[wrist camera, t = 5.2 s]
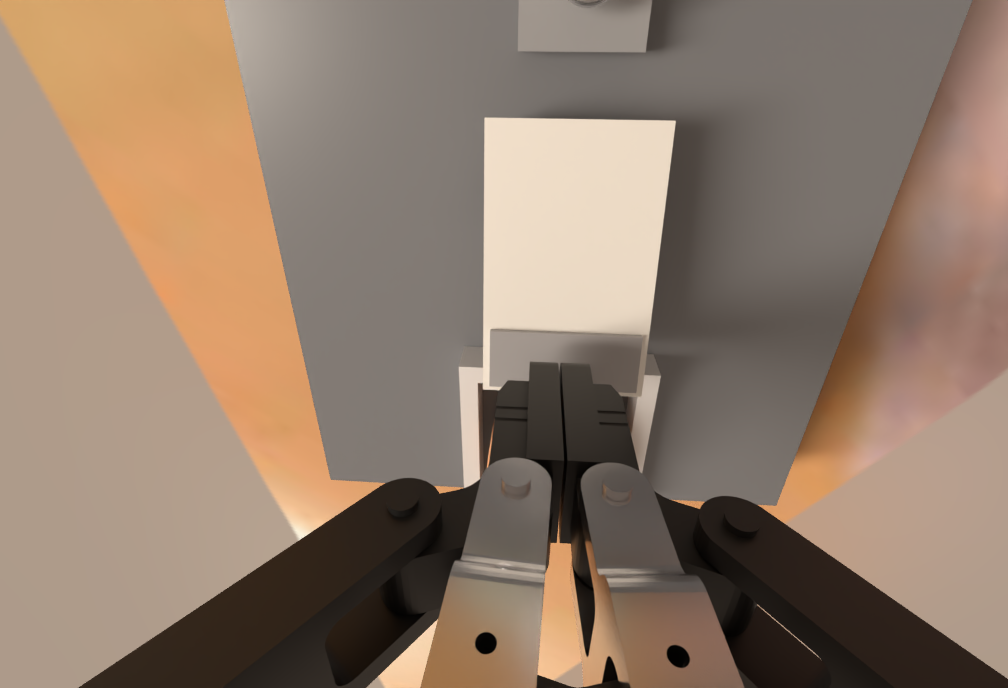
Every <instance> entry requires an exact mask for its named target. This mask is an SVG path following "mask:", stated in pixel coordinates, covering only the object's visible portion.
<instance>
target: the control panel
mask: <svg viewBox="0 0 1008 688" xmlns="http://www.w3.org/2000/svg"><path fill="white" fill-rule="evenodd" d="M224 1H225V5H226V10H227V14H228V19H229V23H230V28H231V32H232V37H233V41H234V46H235V50H236V55H237V59H238V64H239V68H240V73H241V78H242V82H243V87H244V91H245V96H246V100H247V105H248V109H249V114H250V118H251V123H252V127H253V132H254V136H255V141H256V145H257V150H258V154H259V159H260V163H261V168H262V172H263V177H264V181H265V186H266V190H267V195H268V199H269V204H270V208H271V213H272V217H273V222H274V226H275V231H276V235H277V240H278V244H279V249H280V253H281V258H282V262H283V267H284V271H285V276H286V280H287V285H288V289H289V294H290V298H291V303H292V307H293V312H294V316H295V321H296V325H297V330H298V334H299V339H300V343H301V348H302V352H303V357H304V361H305V366H306V370H307V375H308V379H309V384H310V388H311V393H312V397H313V402H314V406H315V411H316V415H317V420H318V424H319V429H320V433H321V438H322V442H323V447H324V451H325V456H326V460H327V465H328V469H329V474H330V478H331V480H346V481H363V482H380V483H387V482H390V481H393V480H396V479H401V478H417V479H421V480H424V481H427V482H428V483H430V484H432V485H433V486H448V487H464V488H466V487H468V486H470V485H472V484H474V483H475V482H477V481H478V480H479V479H480V478H481V477H482V474H483V472H484V471H485V470H486V469H487V462H488V455H489V448H490V441H491V433H492V426H493V422H494V419H495V412H496V404H497V396H498V391H499V390H483V284H484V118H545V119H605V120H666V121H676V124H675V132H674V140H673V148H672V156H671V164H670V172H669V180H668V188H667V196H666V204H665V212H664V220H663V228H662V236H661V244H660V252H659V260H658V269H657V277H656V285H655V293H654V301H653V309H652V317H651V325H650V333H649V341H648V349H647V357H646V365H645V373H644V381H643V389H642V397H631V396H621V397H622V399H623V403H624V407H625V414H626V416H627V420H628V427H629V428H630V433H631V437H632V441H633V445H634V450H635V454H636V458H637V462H638V467H639V471H640V472H641V473H642V474H643V475H644V476H645V477H646V478H647V479H648V480H649V481H650V483H651V485H652V487H653V489H654V491H655V492H657V493H658V494H660V495H662V496H663V497H665V498H667V499H671V500H688V501H705V502H706V501H707V500H709V499H711V498H714V497H718V496H733V497H738V498H742V499H745V500H748V501H750V502H752V503H754V504H756V505H773V506H776V505H777V502H778V499H779V497H780V494H781V492H782V489H783V487H784V484H785V481H786V479H787V476H788V474H789V471H790V469H791V466H792V463H793V461H794V458H795V456H796V453H797V451H798V448H799V445H800V443H801V440H802V438H803V435H804V433H805V430H806V427H807V425H808V422H809V420H810V417H811V415H812V412H813V409H814V407H815V404H816V402H817V399H818V397H819V394H820V391H821V389H822V386H823V384H824V381H825V379H826V376H827V373H828V371H829V368H830V366H831V363H832V361H833V358H834V355H835V353H836V350H837V348H838V345H839V343H840V340H841V337H842V335H843V332H844V330H845V327H846V325H847V322H848V319H849V317H850V314H851V312H852V309H853V306H854V304H855V301H856V299H857V296H858V294H859V291H860V288H861V286H862V283H863V281H864V278H865V276H866V273H867V270H868V268H869V265H870V263H871V260H872V258H873V255H874V252H875V250H876V247H877V245H878V242H879V240H880V237H881V234H882V232H883V229H884V227H885V224H886V222H887V219H888V216H889V214H890V211H891V209H892V206H893V204H894V201H895V198H896V196H897V193H898V191H899V188H900V186H901V183H902V180H903V178H904V175H905V173H906V170H907V168H908V165H909V162H910V160H911V157H912V155H913V152H914V150H915V147H916V144H917V142H918V139H919V137H920V134H921V132H922V129H923V126H924V124H925V121H926V119H927V116H928V114H929V111H930V108H931V106H932V103H933V101H934V98H935V96H936V93H937V90H938V88H939V85H940V83H941V80H942V78H943V75H944V72H945V70H946V67H947V65H948V62H949V60H950V57H951V54H952V52H953V49H954V47H955V44H956V42H957V39H958V36H959V34H960V31H961V29H962V26H963V24H964V21H965V18H966V16H967V13H968V11H969V8H970V6H971V3H972V0H608V1H607V2H605V3H604V4H602V5H600V6H598V7H595V8H588V9H587V8H580V7H577V6H575V5H573V4H571V3H570V2H569V1H568V0H224Z"/></svg>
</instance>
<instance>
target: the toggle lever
mask: <svg viewBox="0 0 1008 688" xmlns="http://www.w3.org/2000/svg"><path fill="white" fill-rule="evenodd" d="M568 1H569V2H570V3H571V4H573V5H575V6H577V7H580V8H587V9H588V8H595V7H598V6H600V5H602V4H604V3H605V2H607V1H608V0H568Z"/></svg>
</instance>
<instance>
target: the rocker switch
mask: <svg viewBox="0 0 1008 688" xmlns="http://www.w3.org/2000/svg"><path fill="white" fill-rule="evenodd" d="M675 124H676V121H666V120H605V119H545V118H484V284H483V390H500V389H501V388H502V387H503V385H504V384H505V383H506V382H507V381H508V380H515V381H529V366H530V361H532V362H555V363H558V364H559V370H560V363H582V364H590V367H591V373H592V379H593V384H609V385H611V386H612V387H613V388H614V389H615V390H616V391H617V392H618V393H619V394H620V396H631V397H642V389H643V381H644V373H645V365H646V357H647V349H648V341H649V333H650V325H651V317H652V309H653V301H654V293H655V285H656V277H657V269H658V260H659V252H660V244H661V236H662V228H663V220H664V212H665V204H666V196H667V188H668V180H669V172H670V164H671V156H672V148H673V140H674V132H675Z"/></svg>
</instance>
